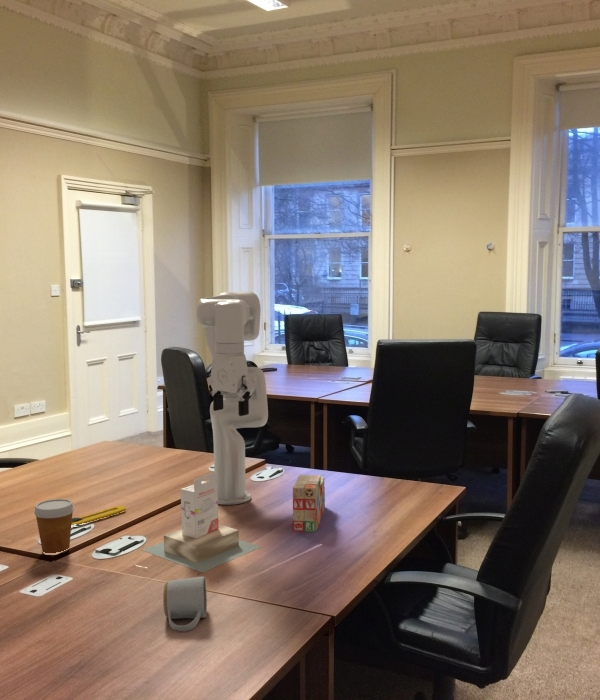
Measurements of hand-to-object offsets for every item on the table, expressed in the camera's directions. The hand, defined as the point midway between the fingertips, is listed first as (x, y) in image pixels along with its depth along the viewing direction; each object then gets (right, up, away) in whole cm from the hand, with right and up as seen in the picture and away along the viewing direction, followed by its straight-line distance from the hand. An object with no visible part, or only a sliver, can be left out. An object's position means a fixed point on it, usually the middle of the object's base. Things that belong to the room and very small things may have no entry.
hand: (230, 412), depth 188 cm
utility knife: (-41, -32, +11) cm, 53 cm away
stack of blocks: (+21, -31, +10) cm, 39 cm away
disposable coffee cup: (-42, -34, -13) cm, 55 cm away
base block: (-6, -33, -13) cm, 35 cm away
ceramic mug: (-4, -37, -49) cm, 61 cm away
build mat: (-6, -33, -13) cm, 36 cm away
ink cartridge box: (-6, -29, -13) cm, 32 cm away
